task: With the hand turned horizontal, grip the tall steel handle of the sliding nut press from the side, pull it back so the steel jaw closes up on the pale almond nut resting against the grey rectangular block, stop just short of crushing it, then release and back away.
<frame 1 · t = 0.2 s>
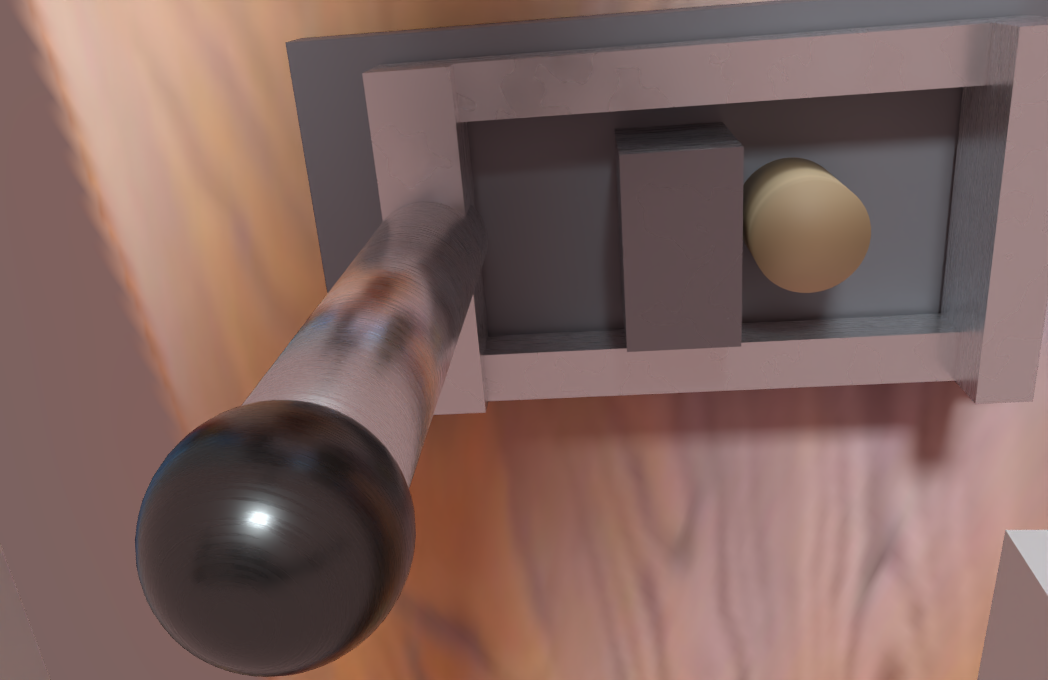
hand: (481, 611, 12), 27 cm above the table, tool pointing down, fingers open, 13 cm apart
grey rectangular block: (675, 234, 33), on the press bench, point 4 cm above the table
press ram: (727, 328, 25), point 14 cm above the table, slide at 0.0 cm
press bench: (665, 204, 38), on the table
nut: (787, 209, 35), point 2 cm above the table, touching press bench
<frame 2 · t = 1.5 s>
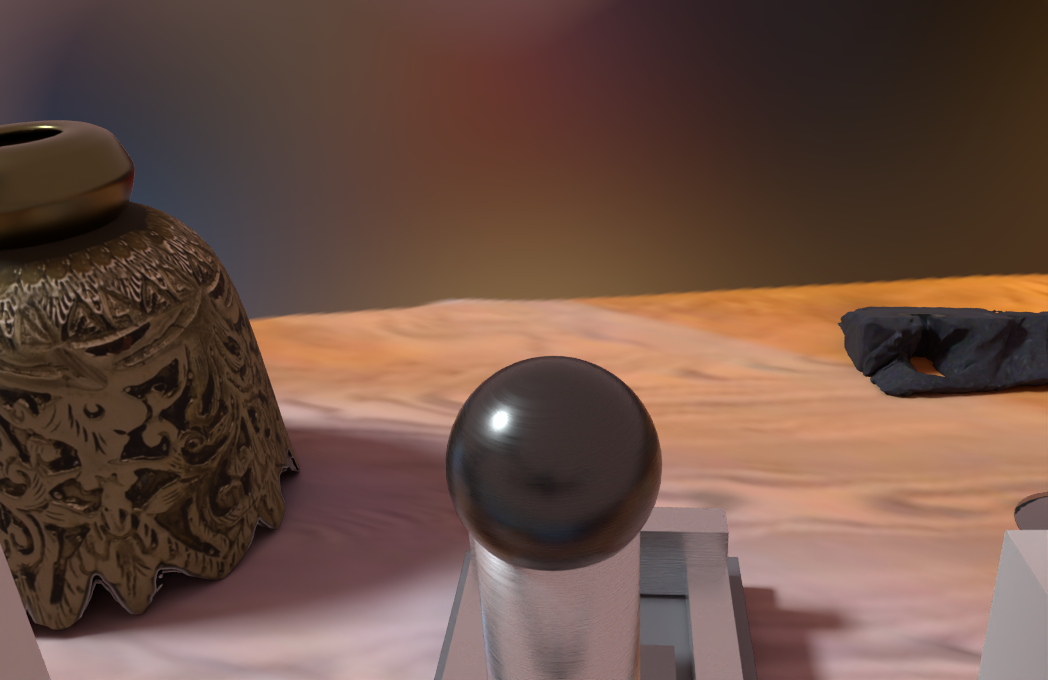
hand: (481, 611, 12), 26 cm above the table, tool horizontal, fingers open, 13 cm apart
black crumpled cloth: (983, 360, 75), on the table
lamp shade: (121, 515, 61), on the table
press ram: (582, 529, 34), point 14 cm above the table, slide at 0.0 cm
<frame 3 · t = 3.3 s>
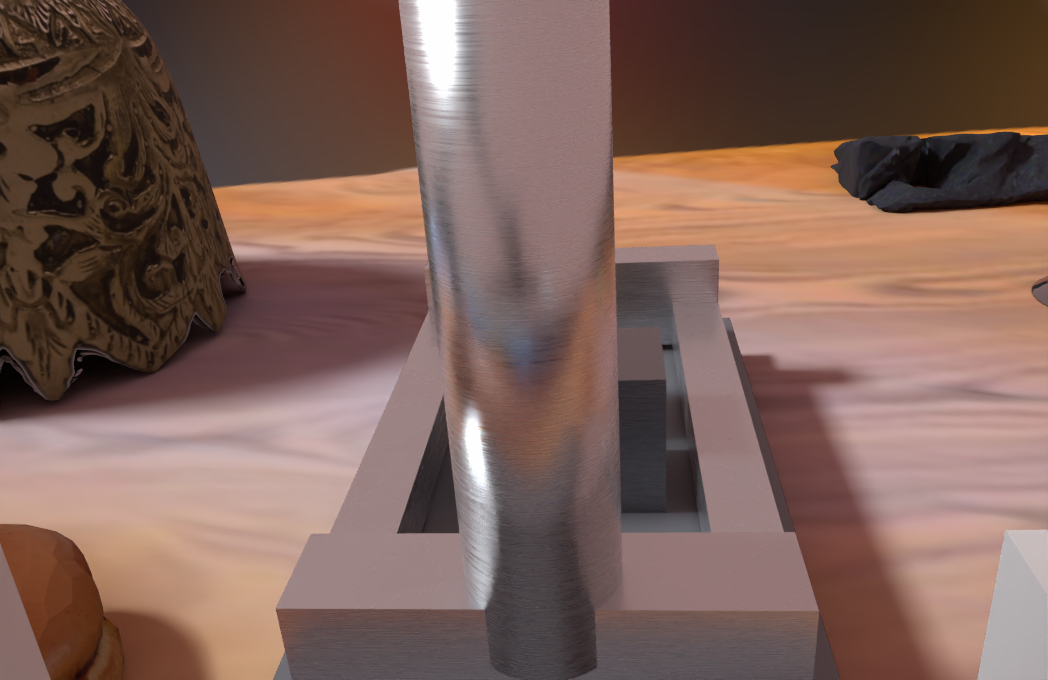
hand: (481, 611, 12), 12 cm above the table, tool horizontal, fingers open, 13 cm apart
grey rectangular block: (560, 419, 32), on the press bench, point 4 cm above the table
black crumpled cloth: (986, 188, 70), on the table
lamp shade: (45, 332, 55), on the table
press ram: (546, 145, 28), point 14 cm above the table, slide at 0.0 cm
press bench: (566, 526, 34), on the table
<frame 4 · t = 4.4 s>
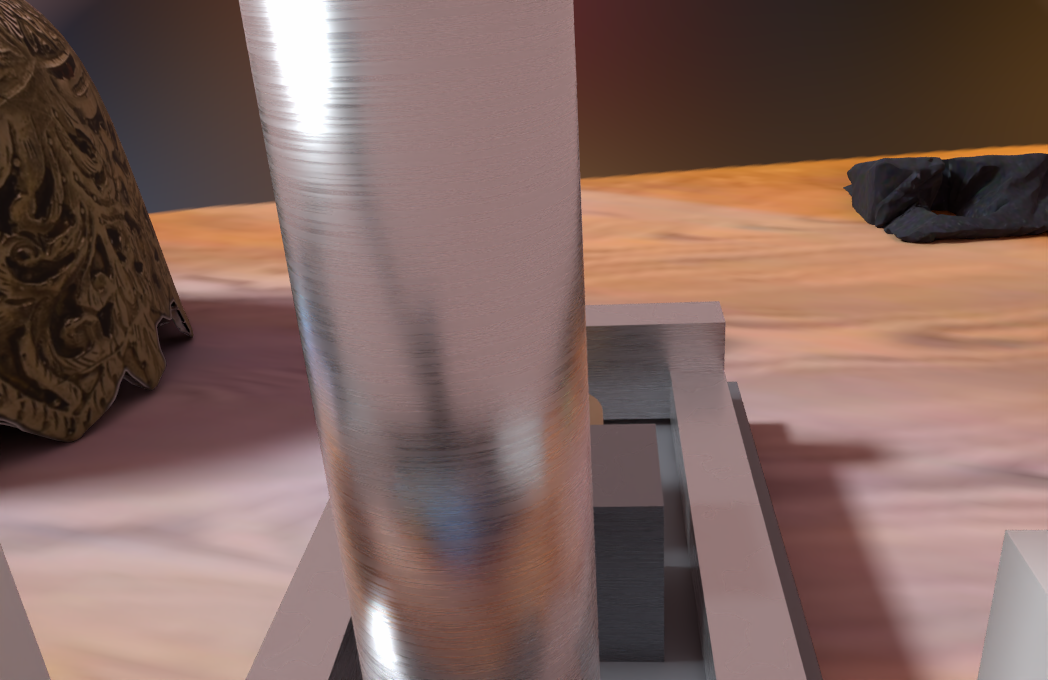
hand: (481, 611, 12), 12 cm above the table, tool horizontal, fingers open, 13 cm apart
grey rectangular block: (532, 540, 26), on the press bench, point 4 cm above the table
black crumpled cloth: (1014, 214, 64), on the table
press ram: (510, 208, 22), point 14 cm above the table, slide at 0.0 cm
press bench: (541, 662, 27), on the table
nut: (546, 518, 31), point 2 cm above the table, touching press bench
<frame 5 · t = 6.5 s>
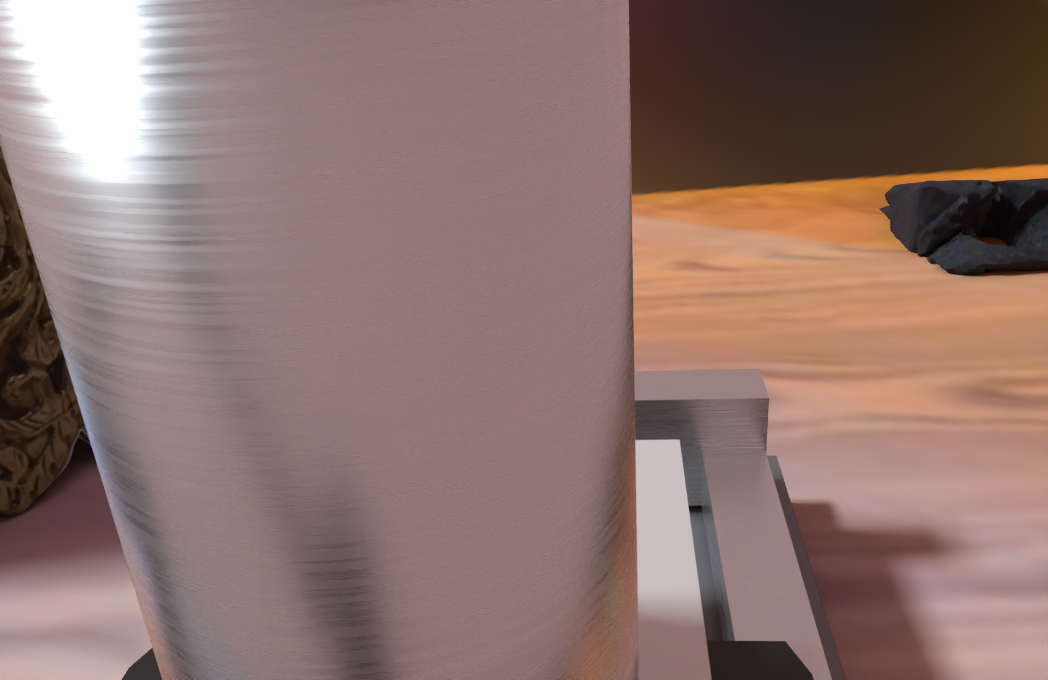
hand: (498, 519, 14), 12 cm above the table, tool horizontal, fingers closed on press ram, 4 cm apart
press ram: (514, 301, 17), point 14 cm above the table, slide at 0.0 cm, touching gripper
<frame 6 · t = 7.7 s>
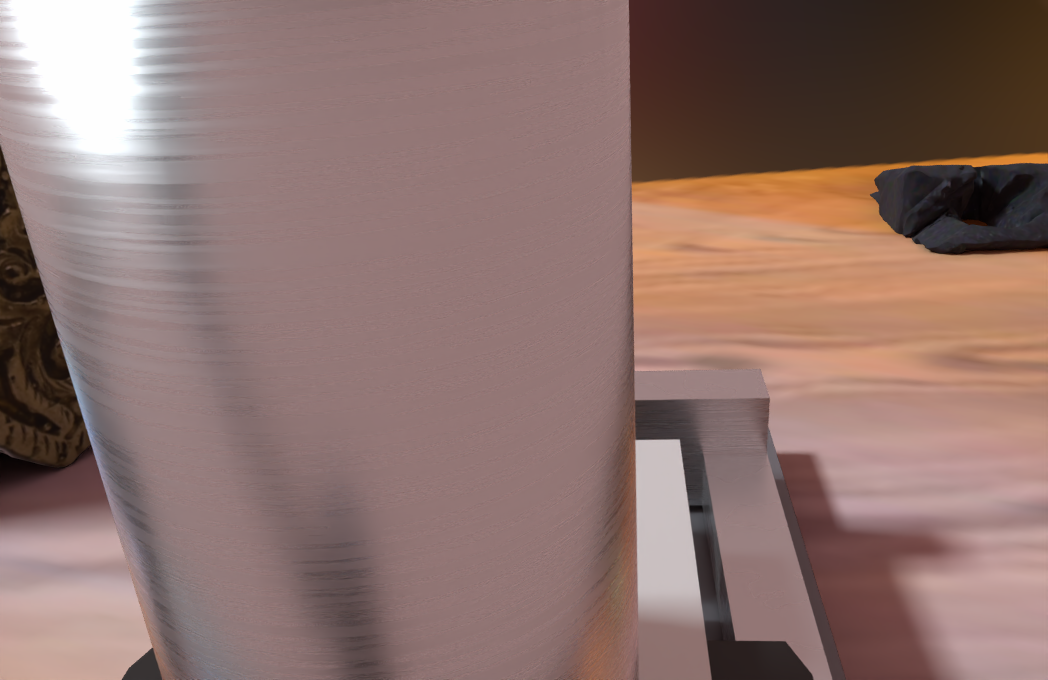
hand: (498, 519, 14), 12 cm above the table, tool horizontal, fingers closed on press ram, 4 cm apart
press ram: (515, 300, 17), point 14 cm above the table, slide at 3.4 cm, touching gripper
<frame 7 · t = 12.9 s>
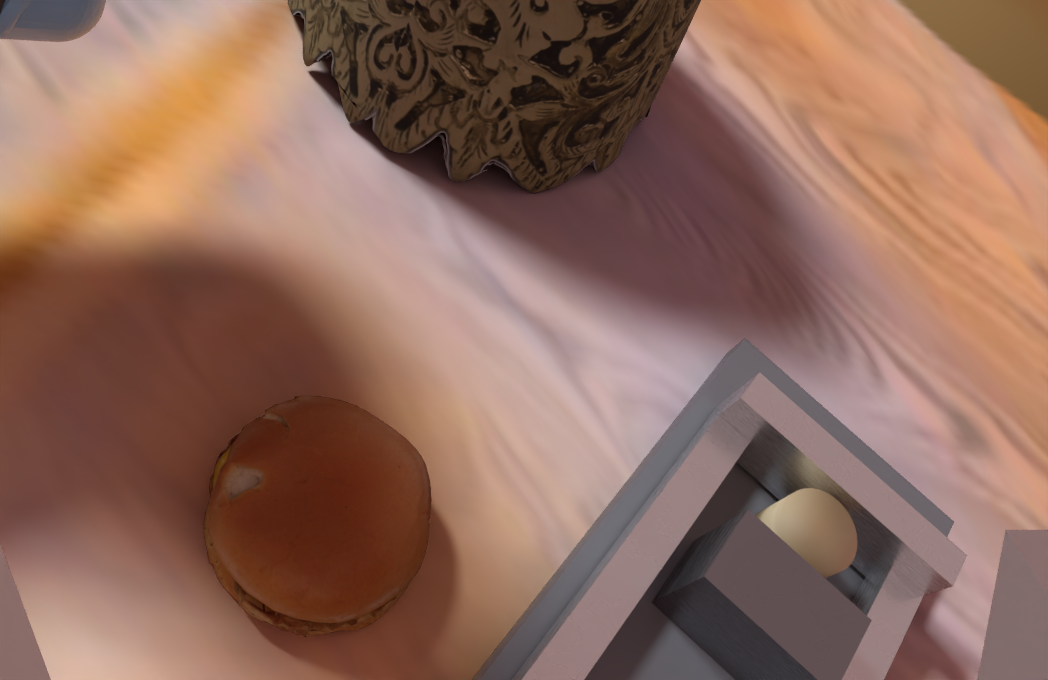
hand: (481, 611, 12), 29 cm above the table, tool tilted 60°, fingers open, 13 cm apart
grey rectangular block: (758, 611, 41), on the press bench, point 4 cm above the table
burger: (311, 528, 41), on the table
lamp shade: (475, 44, 58), on the table
press ram: (865, 620, 31), point 14 cm above the table, slide at 3.5 cm
press bench: (708, 630, 45), on the table
nut: (772, 552, 45), point 2 cm above the table, touching press bench
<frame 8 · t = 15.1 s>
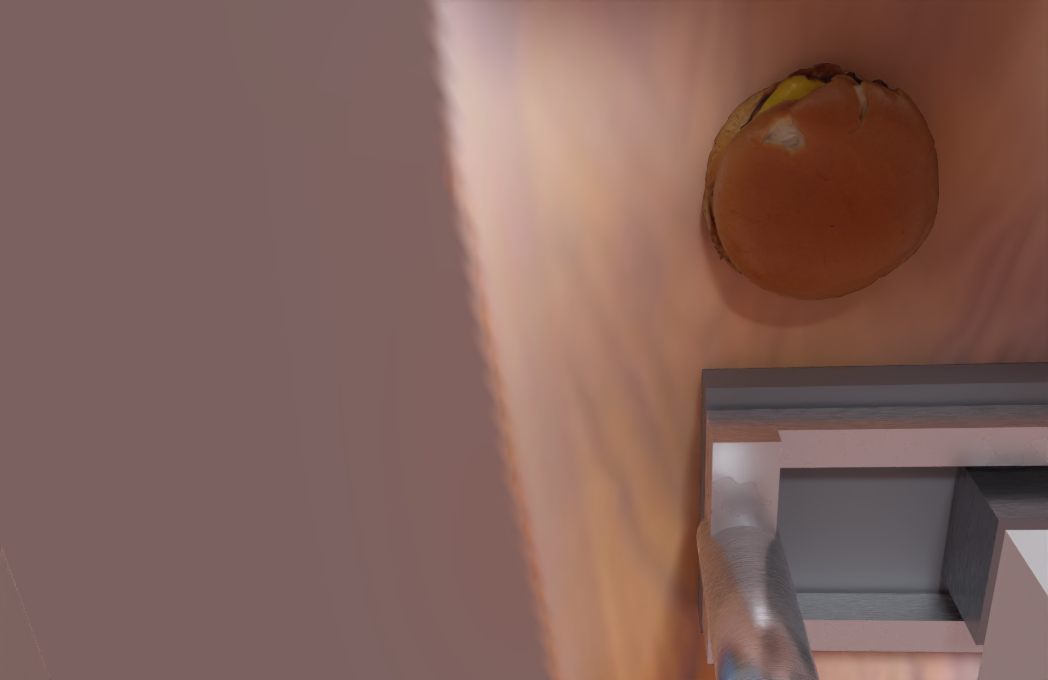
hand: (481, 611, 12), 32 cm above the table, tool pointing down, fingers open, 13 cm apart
grey rectangular block: (1011, 549, 43), on the press bench, point 4 cm above the table
burger: (805, 175, 41), on the table
press bench: (976, 494, 47), on the table
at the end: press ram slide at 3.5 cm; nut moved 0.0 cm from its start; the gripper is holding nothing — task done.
